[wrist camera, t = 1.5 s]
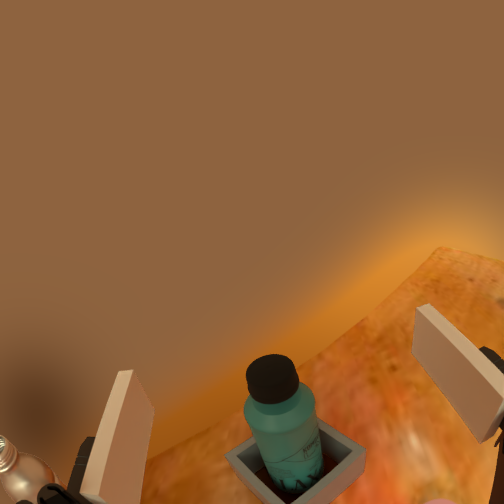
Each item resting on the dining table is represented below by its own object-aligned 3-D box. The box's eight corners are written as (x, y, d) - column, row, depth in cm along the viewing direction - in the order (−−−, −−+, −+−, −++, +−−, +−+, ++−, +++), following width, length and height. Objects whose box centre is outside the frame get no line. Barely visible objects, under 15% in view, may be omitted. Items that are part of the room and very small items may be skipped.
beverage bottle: (266, 496, 29) (214, 396, 21) (279, 454, 34) (241, 341, 27) (321, 501, 26) (303, 402, 19) (330, 456, 32) (316, 340, 25)
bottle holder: (363, 471, 29) (366, 448, 26) (293, 531, 23) (286, 517, 21) (302, 429, 37) (297, 403, 35) (237, 476, 32) (224, 454, 30)
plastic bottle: (134, 531, 24) (26, 445, 17) (104, 562, 19) (-18, 484, 12) (103, 507, 28) (6, 415, 20) (76, 534, 22) (-33, 448, 15)
